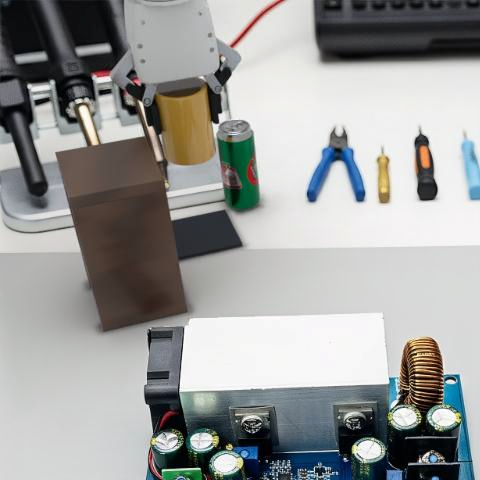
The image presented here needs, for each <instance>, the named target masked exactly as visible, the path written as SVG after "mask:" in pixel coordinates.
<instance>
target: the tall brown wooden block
mask: <svg viewBox="0 0 480 480" xmlns="http://www.w3.org/2000/svg"><path fill="white" fill-rule="evenodd" d="M54 153H55V158H56V161H57V165H58V171H59V173H60V177H61V181H62V185H63V189H64V192H65V196H66V201H67V205H68V209H69V212H70V216H71V220H72V223H73V227H74V231H75V235H76V239H77V243H78V247H79V250H80V254H81V259H82V262H83V266H84V270H85V274H86V277H87V282H88V285H89V288H91V290H92V295H93V298H94V302H95V305H96V311H97V313H98V317H99V322H100V325H101V329H102V332H107V331H111V330H115V329H120V328H124V327H128V326H133V325H137V324H141V323H145V322H150V321H153V320H154V321H155V320H158V319H162V318H168V317H171V316H176V315H179V314H180V315H181V314H184V313H188V305H187V300H186V294H185V290H184V283H183V278H182V277H183V276H182V272H181V271H182V270H181V267H180V262H179V261H180V260H178V255H177V249H176V243H175V238H174V232H173V226H172V216H171V210H170V205H169V200H168V199H169V198H168V193H167V188H166V182H165V178H164V176H163V174H162V171H161V169H160V167H159V165H158V163H157V160H156V158H155V156H154V153H153V151H152V148H151V147H150V143H149V142H148V140H147V138H146V136H145V135H143V136H137V137H131V138H126V139H120V140H114V141H110V142H104V143H99V144H92V145H87V146H82V147H75V148H70V149H65V150H60V151H55V152H54Z"/></svg>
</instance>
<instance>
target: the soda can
mask: <svg viewBox="0 0 480 480" xmlns="http://www.w3.org/2000/svg"><path fill="white" fill-rule="evenodd" d="M215 136H216V143H217V150H218V159H219V165H220V174H221V179H222V180H221V181H222V190H223V195H224V202H225V204H226V205H227V206H228V207H229V208H230V209H233V210H234V211H248V210H252V209H253V208H255V207H256V206H257V205H258V204H259V203H260V201H261V190H260V181H259V171H258V161H257V152H256V142H255V132H254V130H253V129H252V127H251V124H250V123H249V122H248V121H247V120H244V119H240V118H233V119H232V118H231V119H227V120H224V121H222V122H220V123H219V124H218V128H217V132H216V135H215Z"/></svg>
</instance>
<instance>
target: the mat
mask: <svg viewBox="0 0 480 480" xmlns="http://www.w3.org/2000/svg"><path fill="white" fill-rule="evenodd" d="M171 221H172V226H173V232H174V238H175V243H176V249H177V255H178V260H179V261H181V260H186V259H192V258H195V257H199V256H200V257H201V256H205V255H209V254H214V253H218V252H223V251H227V250H233V249H237V248H240V247H243V242H242V240H241V238H240V236H239V234H238V232H237V230H236V228H235V227H234V224H233V222H232V221H231V218H230V217H229V214H228V213H227V211H226V209H220V210H215V211H211V212H207V213H202V214H196V215H192V216H186V217H182V218H178V219H171Z"/></svg>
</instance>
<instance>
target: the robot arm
mask: <svg viewBox="0 0 480 480" xmlns="http://www.w3.org/2000/svg"><path fill="white" fill-rule="evenodd" d="M123 12H124V13H123V15H124V26H125V27H124V28H125V35H126V42H127V48H128V49H127V51H126V52H125V54H124V55H123V56H122V57H121V58H120V59H119V61H118V62H117V64H116V65H115V66H114V67H113V68H112V70H111V71H110V72H109V78H110V80H111V82H112V83H113V84H115V85H116V86H117V87H119V88H121V90H124V91H125V92H126V93H127V94H128V95H129V96H131V97H133V98H134V99H135V100H137V101H138V102H140V103H141V104H142V106H143V111H144V117H145V121H146V125H147V127H148V128H151V127H152V128H153V130H154V132H155V135H156V136H161V133H162V129H161V123H160V118H159V112H158V107H157V104H156V102H155V100H154V95H155V91H156V88H157V85H158V84H159V83H166V82H172V81H178V80H183V79H189V78H195V77H199V78H201V77H203V78H204V81H205V82H206V84H207V89H208V96H209V103H210V111H211V118H212V125H213V124H214V125H220V116H219V115H220V114H223V107H222V98H221V94H222V92H223V90H224V86H225V85H226V84H227V82H228V81H229V80H230V78H232V76H233V72H234V71H235V70H236V68H237V67H238V65H240V63H241V61H242V55H241V54H240V53H239V51H238V50H236V49H234V48H233V47H232V46H230V45H228V44H227V43H226V42H224V41H223V40H221V39H219V38H217V37H216V32H215V28H214V22H213V19H212V15H211V10H210V7H209V3H208V0H123ZM220 56H222V57H224V60H223V63H221V64H220ZM132 70H133V71H135V73H136V76H137V79H138V81H139V84H138V83H137V82H135V81H134V80H132V79H129V78H128V77H127V76H128V74H129V73H130V72H131V71H132Z"/></svg>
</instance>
